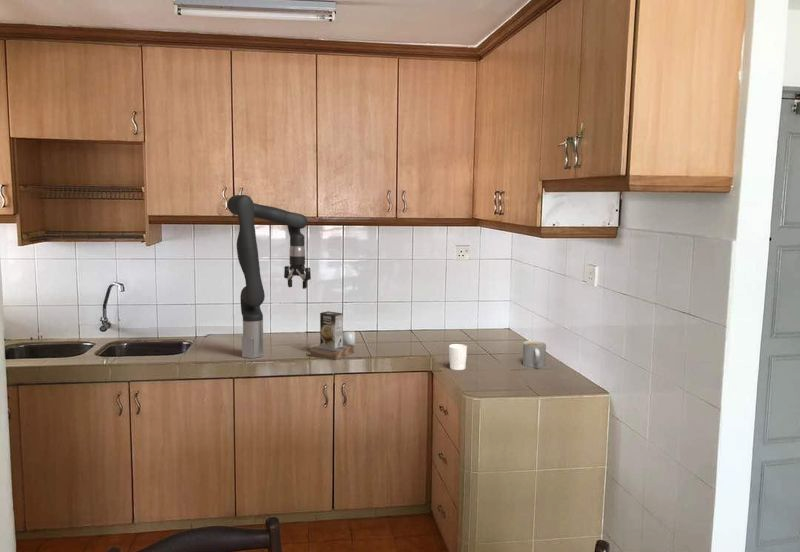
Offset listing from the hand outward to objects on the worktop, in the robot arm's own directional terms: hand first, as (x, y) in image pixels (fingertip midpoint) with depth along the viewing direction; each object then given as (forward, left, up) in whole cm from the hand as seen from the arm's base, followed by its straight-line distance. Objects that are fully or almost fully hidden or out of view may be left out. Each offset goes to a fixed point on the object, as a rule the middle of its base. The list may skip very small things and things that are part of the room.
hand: (297, 287), depth 318 cm
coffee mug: (+23, -113, -30) cm, 119 cm away
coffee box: (-4, -23, -26) cm, 35 cm away
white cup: (+3, -84, -30) cm, 90 cm away
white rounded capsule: (+11, -23, -30) cm, 39 cm away
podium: (-4, -23, -30) cm, 38 cm away
